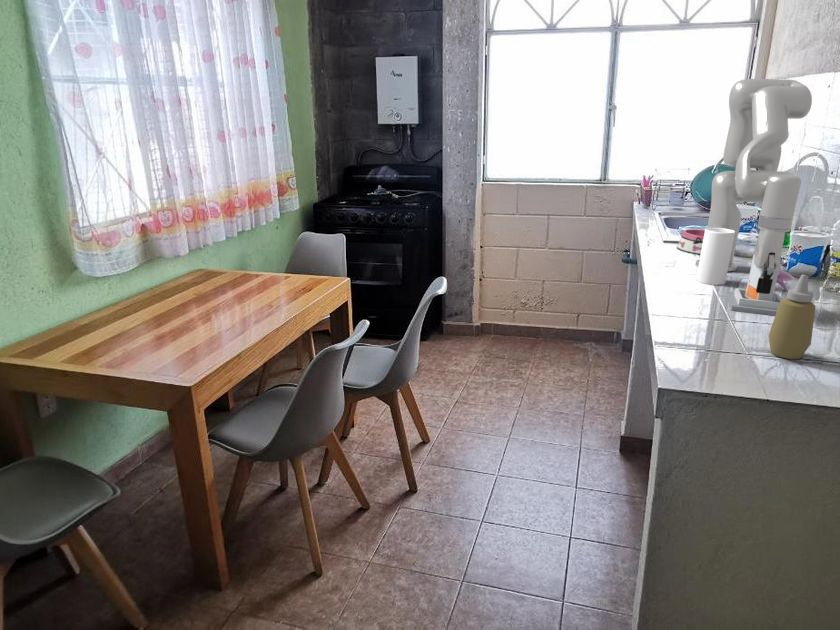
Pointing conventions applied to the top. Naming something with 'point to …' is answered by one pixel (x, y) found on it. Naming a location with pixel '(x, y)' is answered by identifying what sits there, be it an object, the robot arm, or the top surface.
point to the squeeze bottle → (793, 322)
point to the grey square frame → (752, 303)
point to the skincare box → (753, 282)
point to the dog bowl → (691, 241)
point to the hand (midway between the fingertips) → (760, 288)
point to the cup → (715, 255)
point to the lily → (783, 278)
